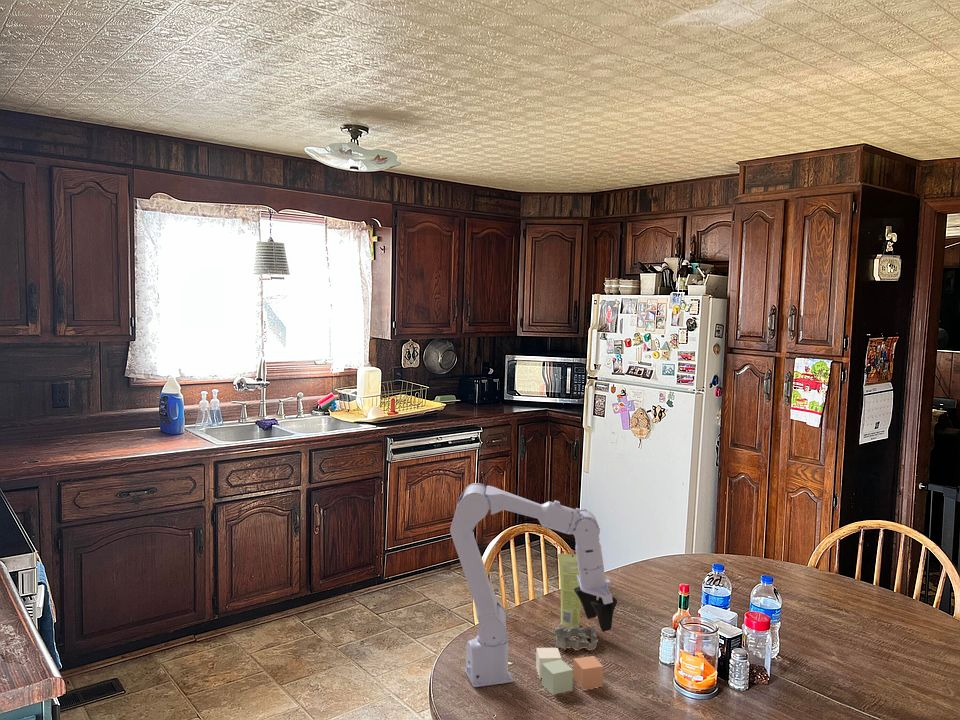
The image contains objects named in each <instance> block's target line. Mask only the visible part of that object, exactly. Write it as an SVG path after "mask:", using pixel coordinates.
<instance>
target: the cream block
mask: <svg viewBox="0 0 960 720" xmlns="http://www.w3.org/2000/svg"><path fill="white" fill-rule="evenodd" d="M535 653H536V654H535V655H536V656H535V658H536V659H535V666H536V667H535V670H536V669H537V670H536V672H538V673H537V675H539V677H538V679H539V678H542V664H543V663H547V662H552V661H557V660H562V656H561V653H560V650H559V648H556V647H536V651H535Z"/></svg>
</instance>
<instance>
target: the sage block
mask: <svg viewBox="0 0 960 720" xmlns="http://www.w3.org/2000/svg"><path fill="white" fill-rule="evenodd" d="M573 683H574V680H573V668H572V667H571V666H569V664H567V663H566V662H565V661H564V659H561V660H557V661H552V662H547V663H543V664H542V679H541V686H542V685H543V686H544V687H545V688H547V690H548V691H549V692H550V693H552V695H554V694H557V693H562V692H566V691H570V690H572V691H573ZM543 686H542V687H543ZM544 687H543V688H544ZM545 688H544V689H545ZM547 690H546V691H547ZM548 691H547V692H548ZM549 692H548V693H549ZM550 693H549V694H550ZM552 695H551V696H552ZM554 696H555V695H554Z"/></svg>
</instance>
